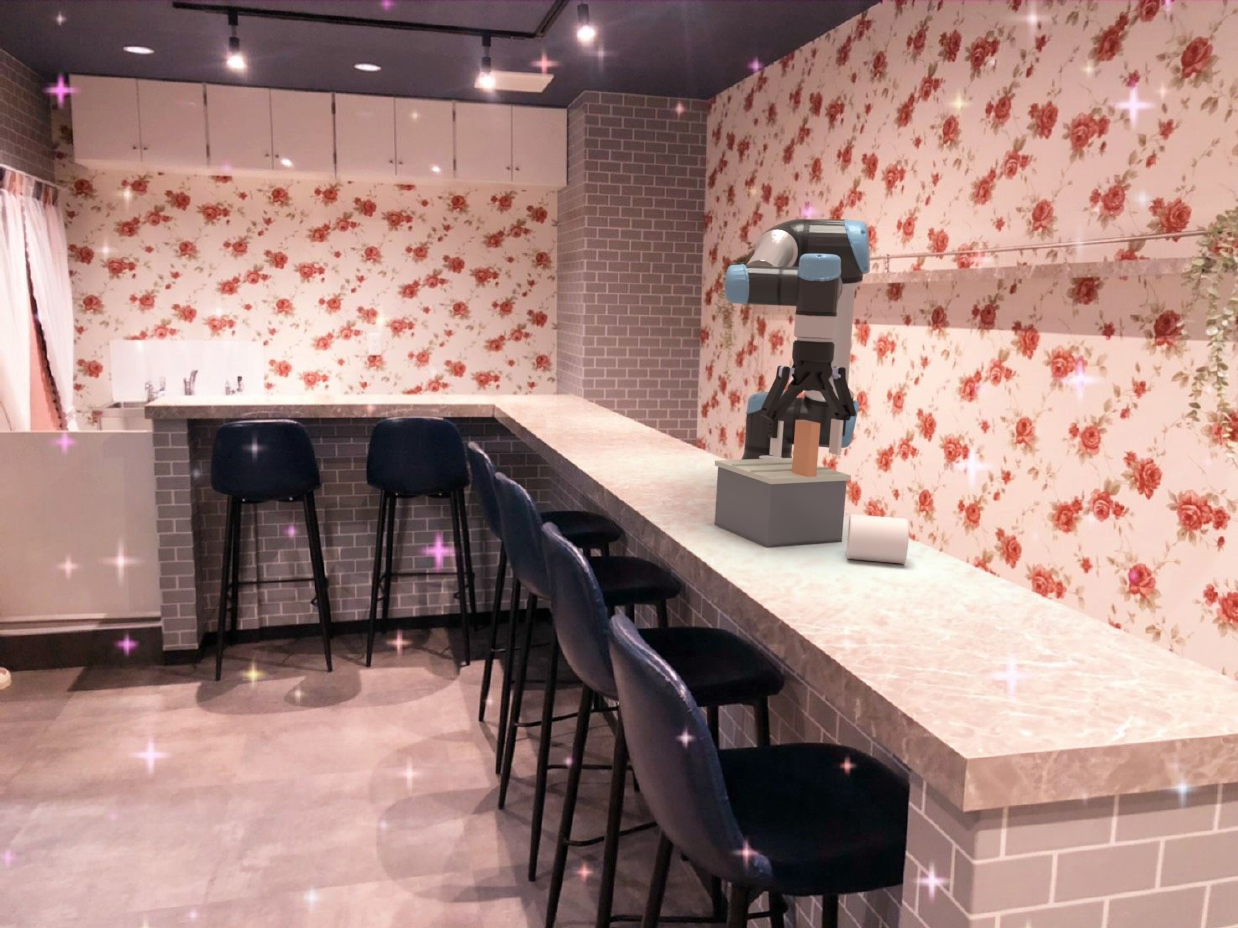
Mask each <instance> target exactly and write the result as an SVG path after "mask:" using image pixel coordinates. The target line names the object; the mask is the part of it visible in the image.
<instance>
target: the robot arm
mask: <svg viewBox="0 0 1238 928" xmlns="http://www.w3.org/2000/svg"><path fill="white" fill-rule="evenodd" d="M869 237H870V236H869V229H868V226H867V224H866V223H865V222H864V221H861V220H853V219H847V218H846V219H842V218H841V219H835V218H834V219H833V218H832V219H831V218H830V219H829V218H825V219H823V218H821V219H820V218H819V219H816V218H812V219H809V218H808V219H806V218H798V219H797V218H796V219H792V220H788V221H783V222H782V223H779V224H776V225H775V226H772V227H770V228H768V229H767V230H765V232H763V233H762V234H761V235H760V236H759V238H758V240H757V241H756V243H755V246H754V253H753V255H752V256H751V258H750V259H749V261H748V262H747V263H746V264H745V263H741V264H732V265H729V266H728V268H727V270H726V275H725V280H724V281H725V283H724V290H725V291H724V293H725V299H726V300H727V302H729V303H731V304H739V305H742V306H744V305H754V306H755V305H756V306H758V305H759V306H760V305H761V306H781V307H782V306H783V307H795V314H794V330H793V337H794V338H796V340H794V341H793V342H792V353H791V358H792V361H793V362H792V366H791V367H790V366H787V365H778V366H777V368H776V372H775V374H776V375H775V378H774V381H773V383H772V385H771V386H770V388H769V391H762V392H756V393H753V394H751V395H750V396H749V397H748V400H747V406H746V412H745V414H746V417H745V434H744V435H745V436H744V447H743V448H744V450H743V455H742V457H741V459H740V460H746V459H759V456H777V457H782V458H792V459H793V446H794V435H795V422H796V420H808V421H812V422H817V423H820V435H819V448H828V453H829V454H832V455H836V456H841V454H842V449H845V448H848V447H849V446H850V445H851V444H852V441H853V436H854V431H855V427H856V423H857V417H858V413H859V408H860V402H859V401H857V400H855V398H854V397H855V396H854V395H855V393H854V392H853V391H852V390H851V389H850V387H849V378H850V377H849V375H850V364H851V363H850V362H851V361H850V360H851V348H852V336H853V321H854V309H855V293H856V288H857V287H858V286H859V285H860V284H862V283H863V279H864V275H867V274H869V273H870V270H871V260H870V259H871V258H870V257H871V256H870V255H871V253H870V238H869ZM791 377H792V380H791V381H790V382H789V379H790V378H791ZM788 383H789V384H788ZM786 387H787V388H786ZM785 389H786V390H785ZM803 392H804V393H803ZM802 393H803V394H804V397H799V395H800V394H802Z"/></svg>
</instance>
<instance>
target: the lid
mask: <svg viewBox="0 0 1238 928" xmlns="http://www.w3.org/2000/svg"><path fill="white" fill-rule="evenodd" d="M819 435H820V423H817V422H812V421H808V420H796V422H795V435H794V445H793V448H792V458H775V459H746V460H741V459H720V460H719V459H718V460H714V466H715V467H717V468H718V467H721V468H724V469H727V470H730V471H733V472H736V473H739V474H742V475H745V476H748V477H751V478H754V479H757V480H760V481H763V482H766V483H769V484H784V483H805V482H826V481H851V478H852V475H851V474H848V473H845V472H841V471H837V470H834V469H831V466H819V465H818V461H819V460H818V458H819V448H820V447H819Z"/></svg>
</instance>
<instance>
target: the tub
mask: <svg viewBox="0 0 1238 928" xmlns="http://www.w3.org/2000/svg"><path fill="white" fill-rule="evenodd" d="M846 493H847V481H826V482H805V483H784V484H769V483H766V482H763V481H760V480H757V479H754V478H751V477H748V476H745V475H742V474H739V473H736V472H733V471H730V470H727V469H724V468H721V467H718V466H717V480H716V495H715V496H716V497H715V511H714V512H715V513H714V526H717V527H719V528H721V529H724V530H725V531H729V532H730V533H733V534H735V535H738V536H740V537H742V538H744V539H747V540H749V541H751V542H753V543H755V544H758V545H760V546H762V547H765V548H777V547H791V546H800V545H802V546H803V545H814V544H825V543H827V544H828V543H839V542H842V541H843V531H844V517H845V505H846V497H847V496H846Z"/></svg>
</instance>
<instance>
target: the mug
mask: <svg viewBox="0 0 1238 928" xmlns="http://www.w3.org/2000/svg"><path fill="white" fill-rule="evenodd" d="M847 527H848V528H847V539H846V540H847V541H846V558H847V559H848V560H855V561H856V560H857V561H858V560H859V561H867V562H880V563H888V564H889V563H890V564H900V565H901V564H902V565H904V564H905V563H906V561H907V556H908V549H909V538H910V537H909V536H910V535H909V533H910V531H909V529H910V525H909V520H908V519H907V518H901V517H891V516H890V517H888V516H878V515H877V516H876V515H863V514H855V513H854V514H853V513H852V514H851V513H850V515H849V519H848V526H847Z"/></svg>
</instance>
